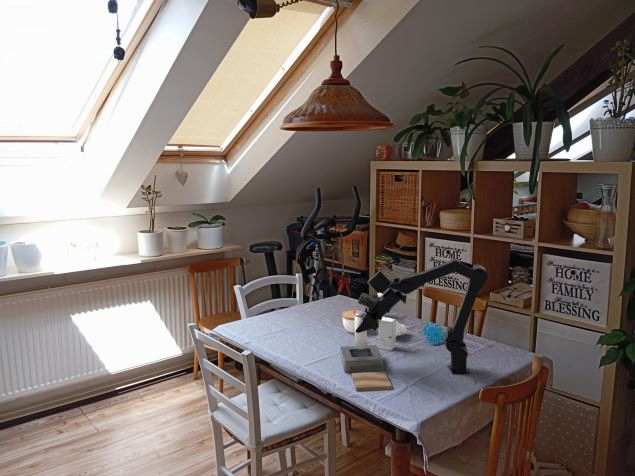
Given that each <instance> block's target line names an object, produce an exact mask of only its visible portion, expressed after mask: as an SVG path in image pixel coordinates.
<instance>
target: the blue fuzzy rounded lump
mask: <svg viewBox="0 0 635 476" xmlns="http://www.w3.org/2000/svg"><path fill="white" fill-rule="evenodd" d="M433 325H434V326H433ZM438 327H439V328H438ZM422 330H423V332H422V335H423V336H424V337H425V340H426V341H429V343H430V345H432V344H433V343H434V345H435V346H438V345H439V344H440V345H441V344H443V343H444V334H445V333H446V331H447V330H446V331H443V327H442V326H439V324H438V323H435V324H434V322H432V321H431V322H430V323H425V324H424V327H423V328H422ZM434 341H435V342H434ZM438 341H439V342H438Z"/></svg>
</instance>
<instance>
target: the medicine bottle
mask: <svg viewBox="0 0 635 476" xmlns="http://www.w3.org/2000/svg"><path fill="white" fill-rule="evenodd" d="M383 294H384V293H381V294H380V293H377V292H376V291H375V292H371V293H369V295H370V296H372V297H373V298H375V299H377V298H378V297H381V296H382V295H383ZM368 308H369V307H367V309H368ZM383 317H386V314H385V315H384V316H383ZM377 319H378V318H377ZM378 320H379V319H378Z"/></svg>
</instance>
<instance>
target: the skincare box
mask: <svg viewBox="0 0 635 476" xmlns="http://www.w3.org/2000/svg"><path fill="white" fill-rule="evenodd" d="M396 321H397V319H396V318H391V317H386V316H384V317H382V319H381V320H379V328H378V333H377V334H378V339H377V341H378V342H377V348H378V349H382V350H386V351H393V350H394V349H395V347H396V337H395V335H396Z"/></svg>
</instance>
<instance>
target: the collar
mask: <svg viewBox="0 0 635 476" xmlns="http://www.w3.org/2000/svg"><path fill="white" fill-rule="evenodd" d="M339 354H340V355H339V357H340V361H341V364H342V365H341V366H342V369H343V371H344V373H346V374H347V373H348V374H349V373H350V374H351V373H366V372H384V358H383V357H382V354H381V351H380V350H379V348H378V345H377V344H372V345H371V344H370V345H369V344H367V348H365V349H356V348H355V345H348V346H347V345H346V346H340V347H339Z"/></svg>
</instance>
